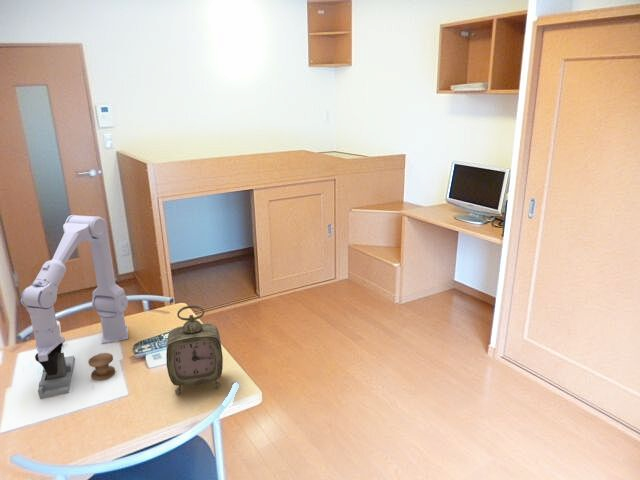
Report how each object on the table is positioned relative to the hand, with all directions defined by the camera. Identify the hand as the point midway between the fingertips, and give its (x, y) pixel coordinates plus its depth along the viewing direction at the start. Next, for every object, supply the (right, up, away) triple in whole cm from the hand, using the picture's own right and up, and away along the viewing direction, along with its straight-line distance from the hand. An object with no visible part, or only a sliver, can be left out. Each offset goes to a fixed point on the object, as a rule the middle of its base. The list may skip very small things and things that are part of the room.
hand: (54, 369), depth 129 cm
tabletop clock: (+40, -5, +1) cm, 41 cm away
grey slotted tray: (-1, -3, +4) cm, 5 cm away
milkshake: (-11, +2, +20) cm, 23 cm away
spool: (+11, -3, +6) cm, 13 cm away
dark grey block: (0, -2, +1) cm, 2 cm away
